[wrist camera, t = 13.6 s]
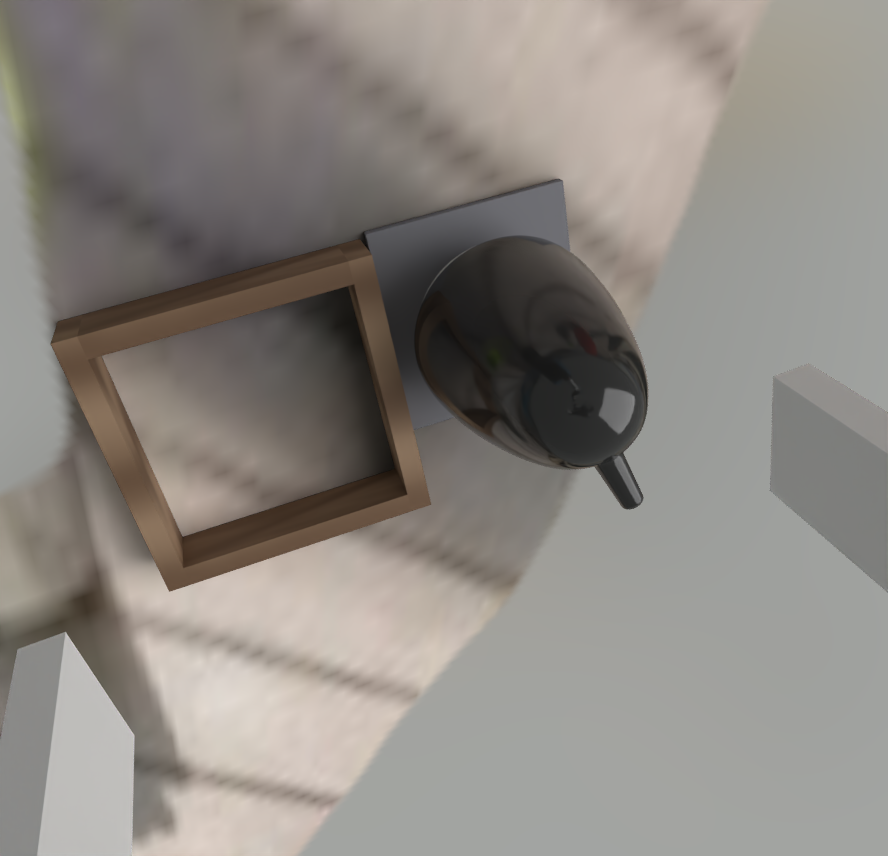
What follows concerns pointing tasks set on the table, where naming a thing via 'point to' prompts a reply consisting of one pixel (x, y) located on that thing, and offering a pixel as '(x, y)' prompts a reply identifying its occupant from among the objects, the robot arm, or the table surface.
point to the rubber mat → (432, 247)
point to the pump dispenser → (535, 358)
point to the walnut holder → (211, 304)
